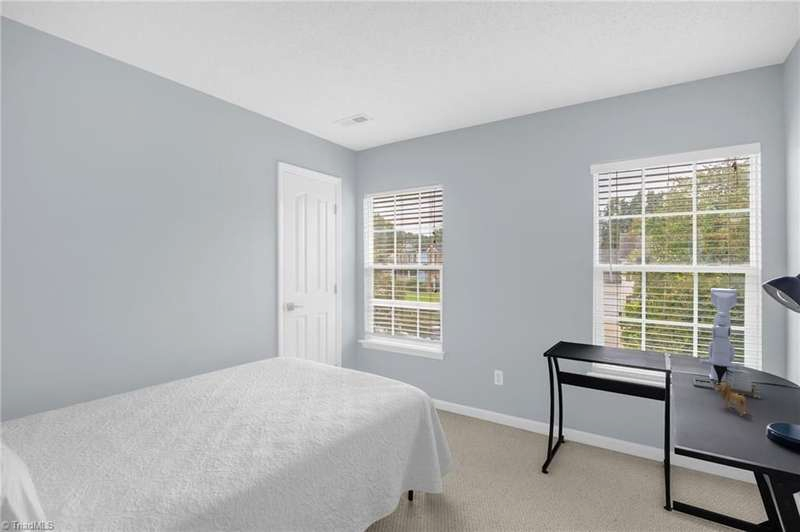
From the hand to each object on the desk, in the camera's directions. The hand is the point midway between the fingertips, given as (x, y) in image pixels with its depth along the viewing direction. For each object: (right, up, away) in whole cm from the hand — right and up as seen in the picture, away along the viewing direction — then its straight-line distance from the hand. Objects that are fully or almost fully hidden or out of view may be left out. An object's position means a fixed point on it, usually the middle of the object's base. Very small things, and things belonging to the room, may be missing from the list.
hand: (719, 382), depth 174 cm
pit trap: (-5, -2, +3) cm, 6 cm away
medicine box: (+5, -3, -4) cm, 7 cm away
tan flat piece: (+5, -3, -3) cm, 6 cm away
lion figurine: (-18, -2, -28) cm, 33 cm away
